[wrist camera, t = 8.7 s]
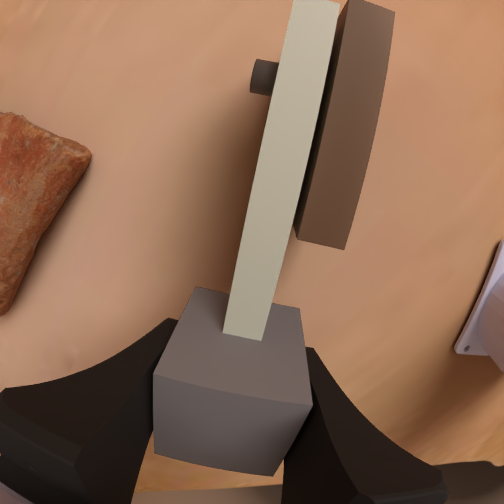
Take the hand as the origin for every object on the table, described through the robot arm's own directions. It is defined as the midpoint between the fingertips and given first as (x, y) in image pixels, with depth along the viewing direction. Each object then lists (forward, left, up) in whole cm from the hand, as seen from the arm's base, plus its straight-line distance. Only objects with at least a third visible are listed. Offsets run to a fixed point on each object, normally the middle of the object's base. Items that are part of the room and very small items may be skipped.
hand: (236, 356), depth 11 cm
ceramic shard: (+19, -4, -6) cm, 20 cm away
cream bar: (0, -6, -6) cm, 8 cm away
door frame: (0, -2, -6) cm, 6 cm away
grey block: (0, 0, -2) cm, 2 cm away
